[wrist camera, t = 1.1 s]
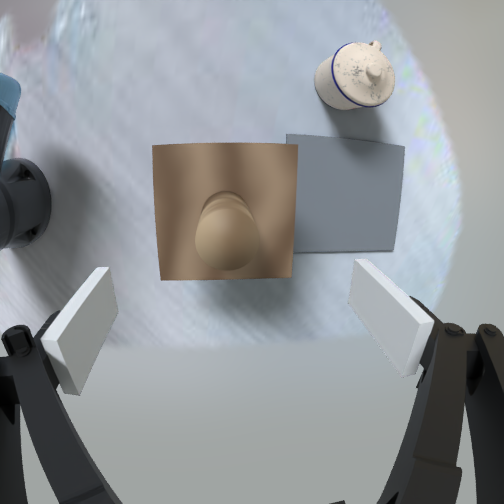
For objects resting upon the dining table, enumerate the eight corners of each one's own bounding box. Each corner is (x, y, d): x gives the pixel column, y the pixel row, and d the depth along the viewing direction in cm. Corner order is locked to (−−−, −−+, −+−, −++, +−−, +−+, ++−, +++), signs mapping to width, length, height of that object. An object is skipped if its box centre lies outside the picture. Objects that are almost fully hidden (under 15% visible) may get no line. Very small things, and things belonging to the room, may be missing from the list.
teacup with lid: (350, 123, 42) (388, 120, 31) (301, 89, 40) (327, 74, 29) (382, 67, 39) (423, 54, 28) (337, 34, 37) (370, 9, 26)
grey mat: (282, 251, 48) (282, 252, 48) (286, 134, 42) (287, 134, 42) (391, 248, 50) (393, 250, 50) (402, 146, 44) (404, 146, 43)
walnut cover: (162, 276, 35) (144, 323, 26) (154, 145, 30) (127, 147, 20) (289, 273, 36) (312, 318, 27) (295, 144, 31) (327, 146, 22)
